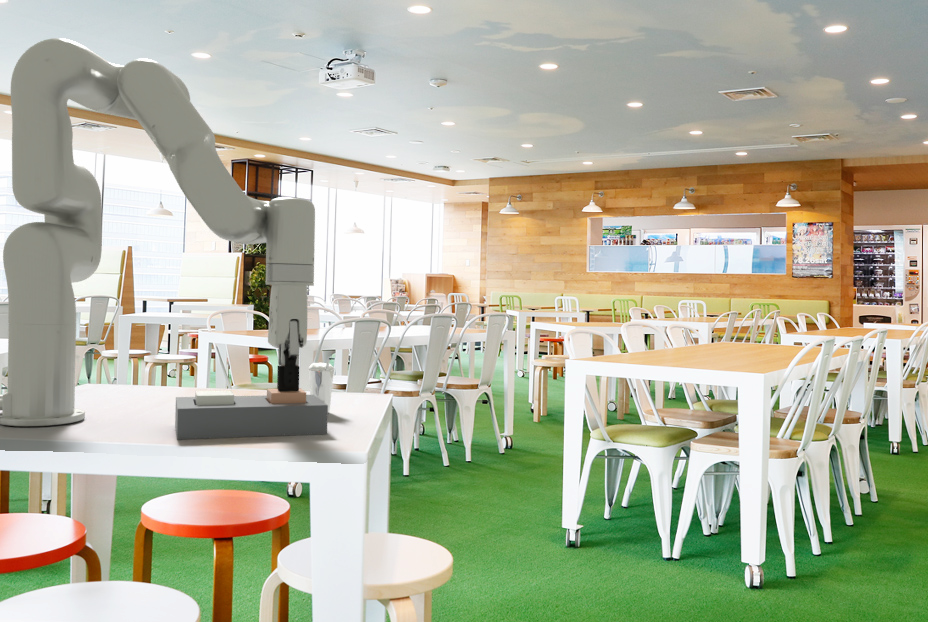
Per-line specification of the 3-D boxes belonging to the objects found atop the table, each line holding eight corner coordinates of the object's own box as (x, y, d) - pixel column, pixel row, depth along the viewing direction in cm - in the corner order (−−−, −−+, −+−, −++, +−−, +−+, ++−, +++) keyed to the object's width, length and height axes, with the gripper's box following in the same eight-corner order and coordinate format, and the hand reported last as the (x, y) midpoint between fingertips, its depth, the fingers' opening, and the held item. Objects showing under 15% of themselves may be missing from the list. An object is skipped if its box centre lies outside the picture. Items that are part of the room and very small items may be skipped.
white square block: (196, 422, 119) (197, 395, 119) (194, 416, 124) (195, 391, 124) (233, 421, 121) (234, 395, 121) (230, 415, 126) (231, 390, 126)
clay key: (270, 418, 123) (271, 393, 123) (266, 413, 128) (267, 388, 128) (305, 417, 125) (306, 392, 125) (299, 412, 130) (300, 388, 130)
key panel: (177, 439, 115) (177, 408, 115) (175, 425, 126) (175, 397, 126) (327, 433, 123) (327, 405, 123) (312, 420, 134) (313, 394, 134)
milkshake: (315, 416, 140) (316, 359, 139) (303, 411, 144) (305, 356, 144) (338, 414, 142) (340, 359, 142) (326, 410, 146) (328, 356, 146)
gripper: (260, 276, 132) (258, 385, 132) (272, 275, 118) (270, 397, 118) (305, 277, 135) (303, 384, 135) (322, 276, 121) (320, 396, 121)
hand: (288, 390), depth 127 cm, fingers closed
